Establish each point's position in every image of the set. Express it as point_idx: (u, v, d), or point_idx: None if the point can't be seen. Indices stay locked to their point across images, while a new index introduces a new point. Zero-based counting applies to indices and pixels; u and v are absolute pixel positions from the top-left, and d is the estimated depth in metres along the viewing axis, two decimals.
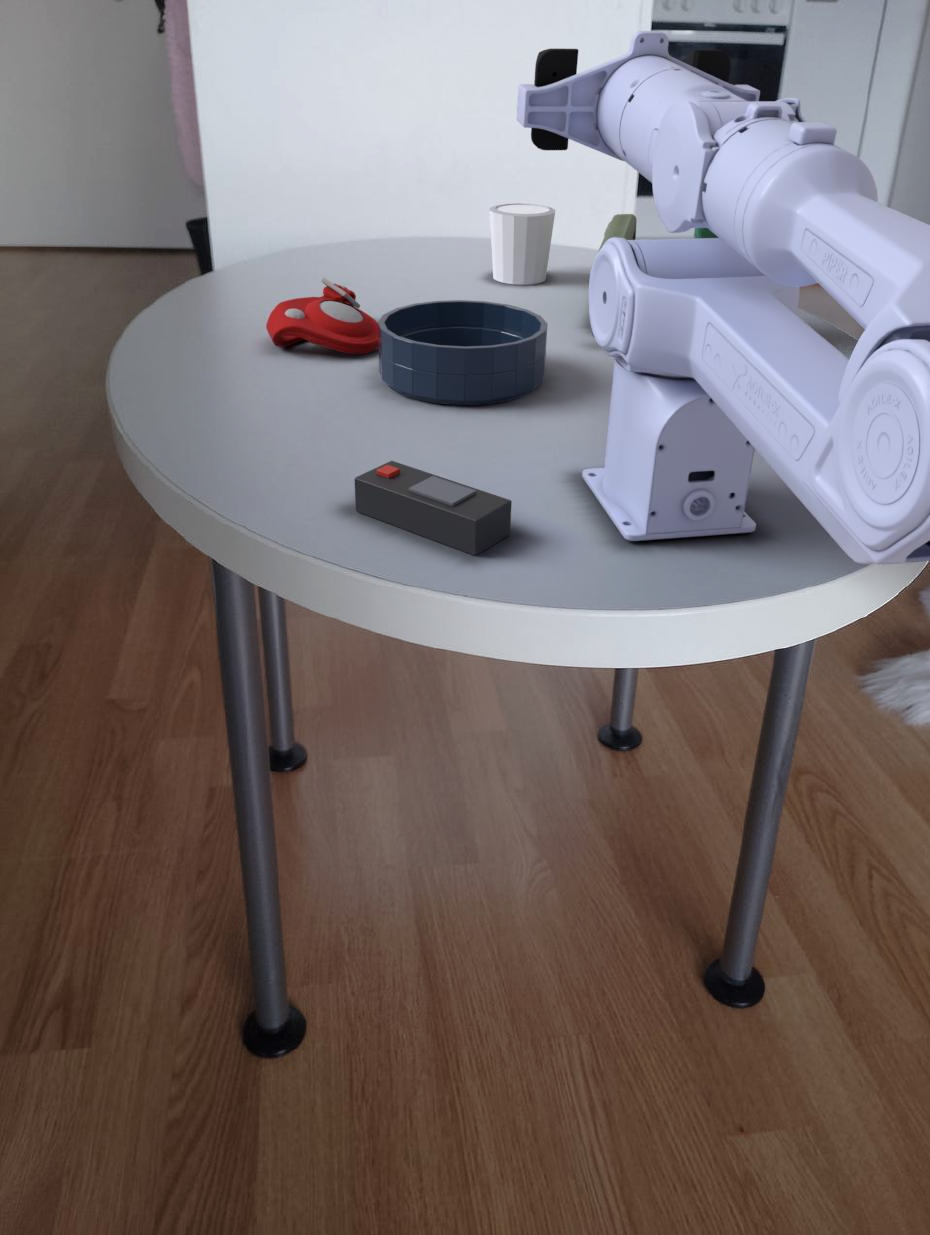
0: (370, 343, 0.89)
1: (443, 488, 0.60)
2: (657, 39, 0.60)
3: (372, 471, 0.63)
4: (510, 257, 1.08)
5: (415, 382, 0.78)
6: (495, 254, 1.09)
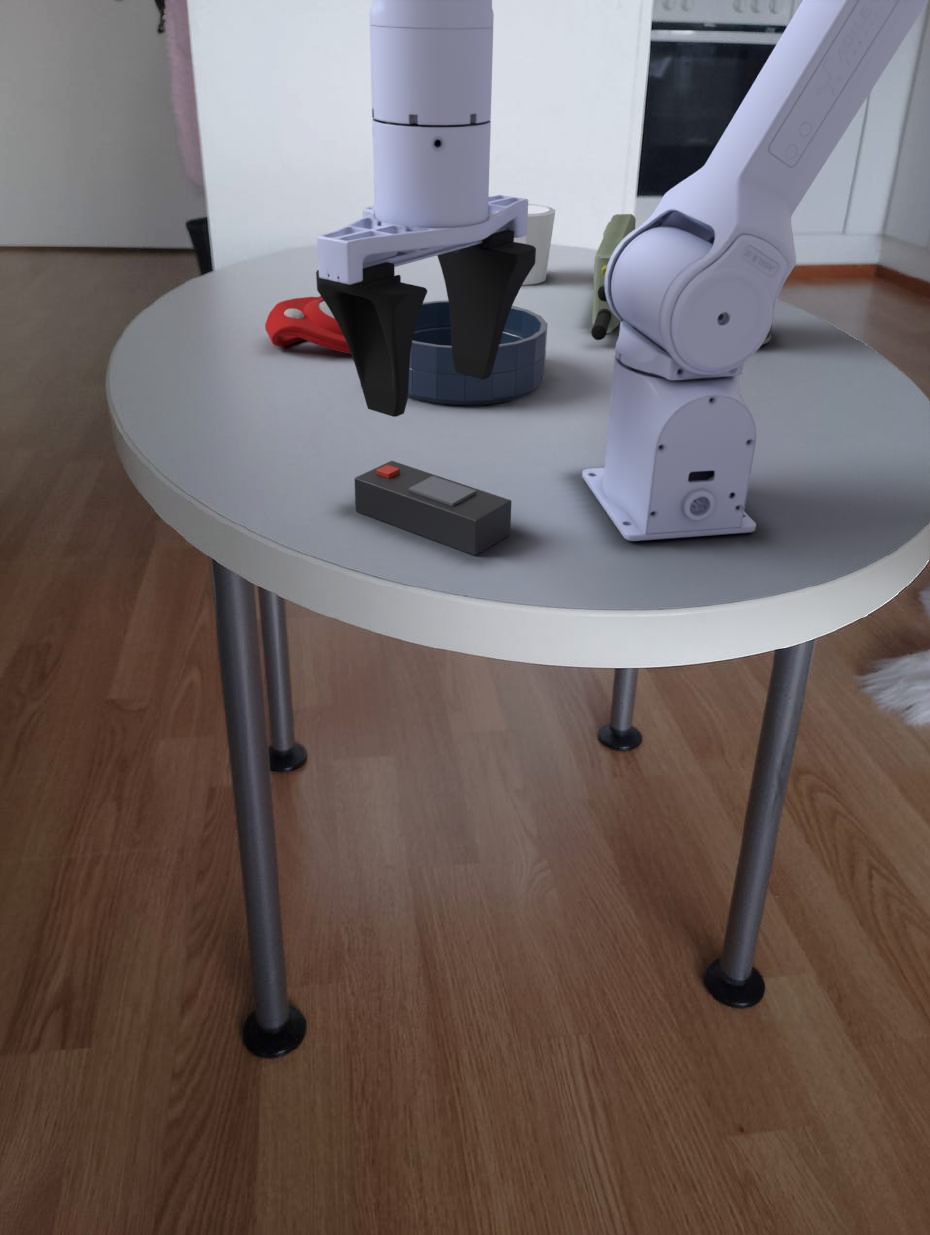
0: None
1: (443, 488, 0.60)
2: None
3: (372, 471, 0.63)
4: None
5: (415, 382, 0.78)
6: None
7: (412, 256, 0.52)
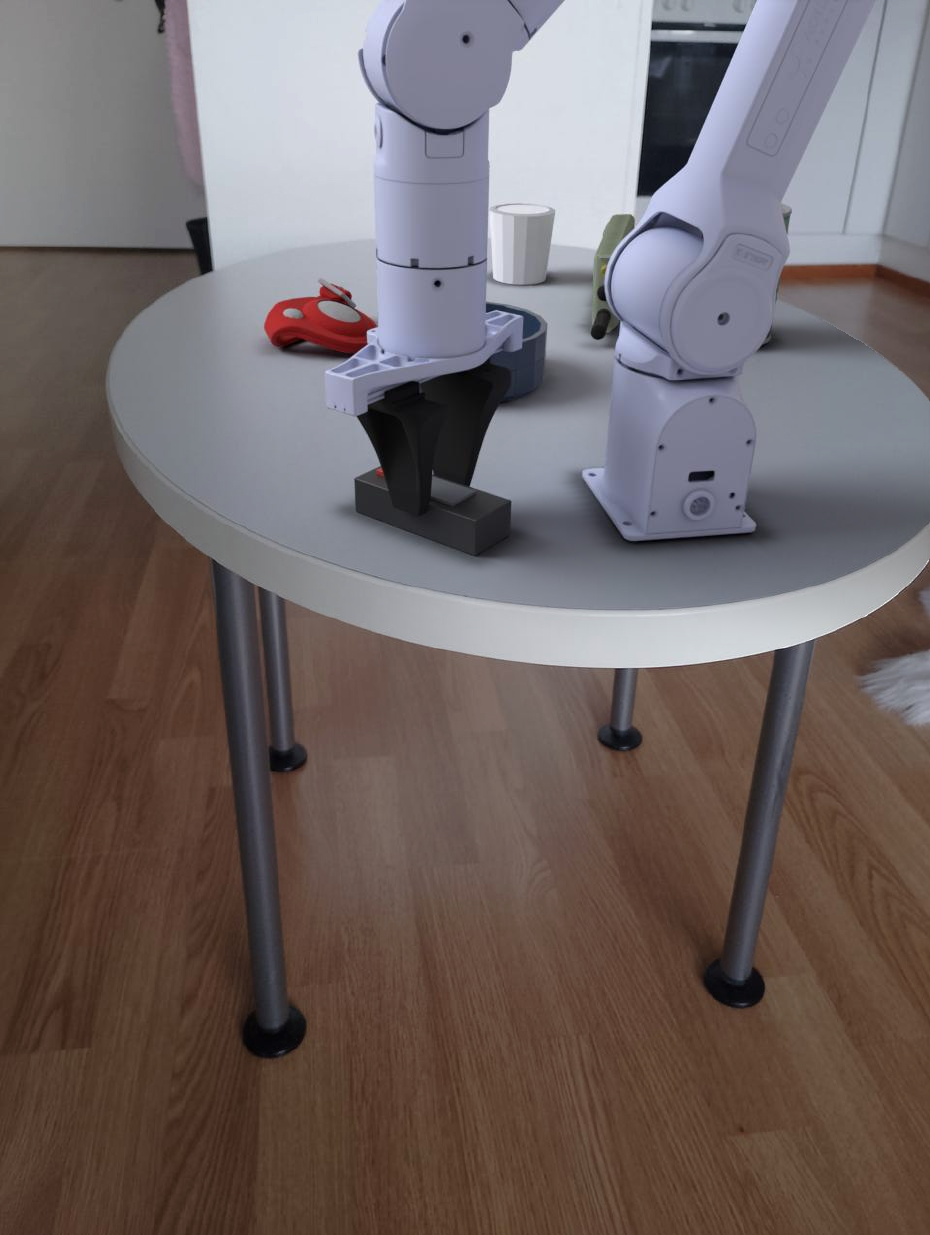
0: None
1: (443, 488, 0.60)
2: None
3: (372, 471, 0.63)
4: (510, 257, 1.08)
5: None
6: (495, 254, 1.09)
7: (413, 381, 0.56)
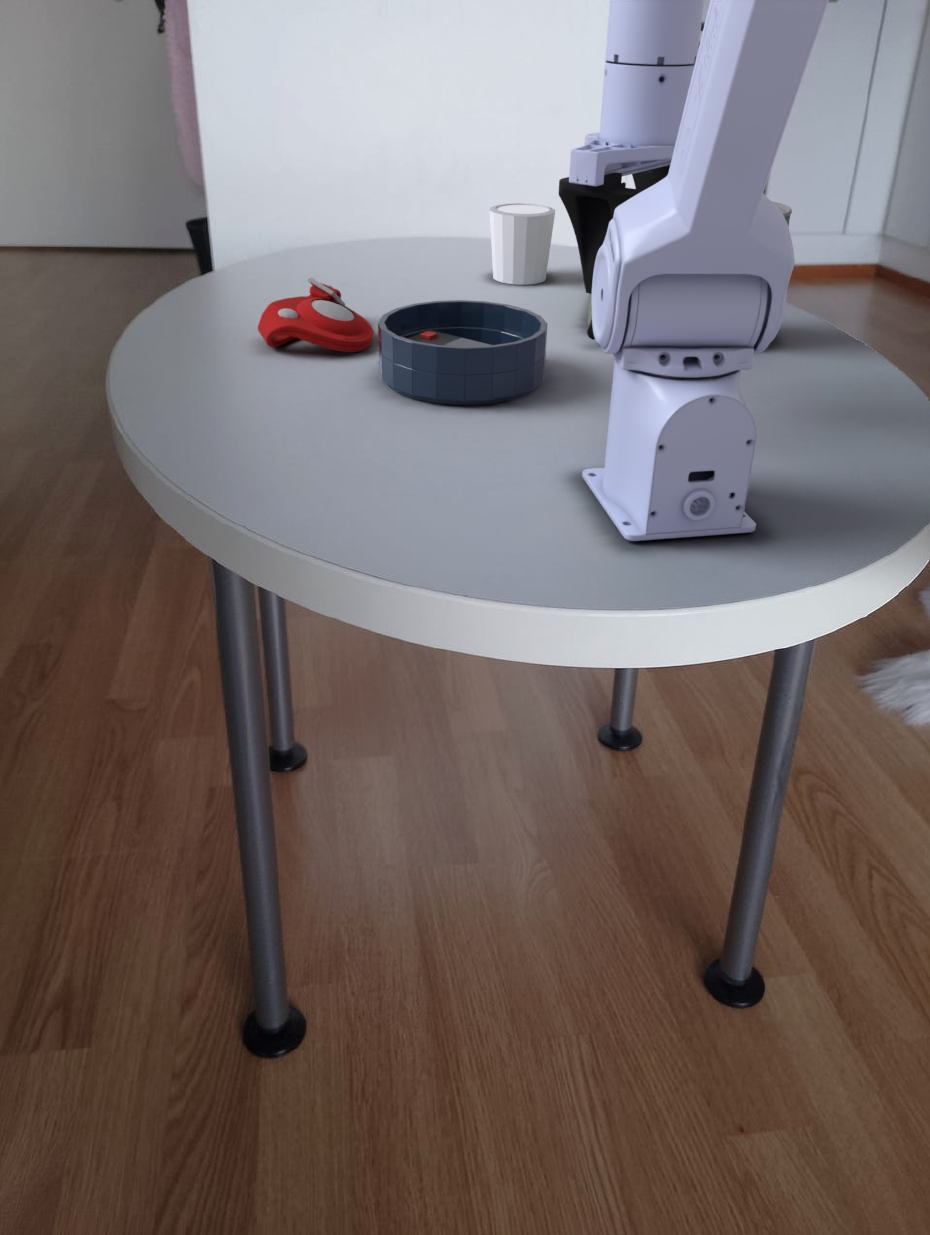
0: (364, 341, 0.89)
1: (470, 344, 0.82)
2: (597, 133, 0.70)
3: (416, 335, 0.84)
4: (510, 257, 1.08)
5: (415, 382, 0.78)
6: (495, 254, 1.09)
7: (630, 169, 0.68)
